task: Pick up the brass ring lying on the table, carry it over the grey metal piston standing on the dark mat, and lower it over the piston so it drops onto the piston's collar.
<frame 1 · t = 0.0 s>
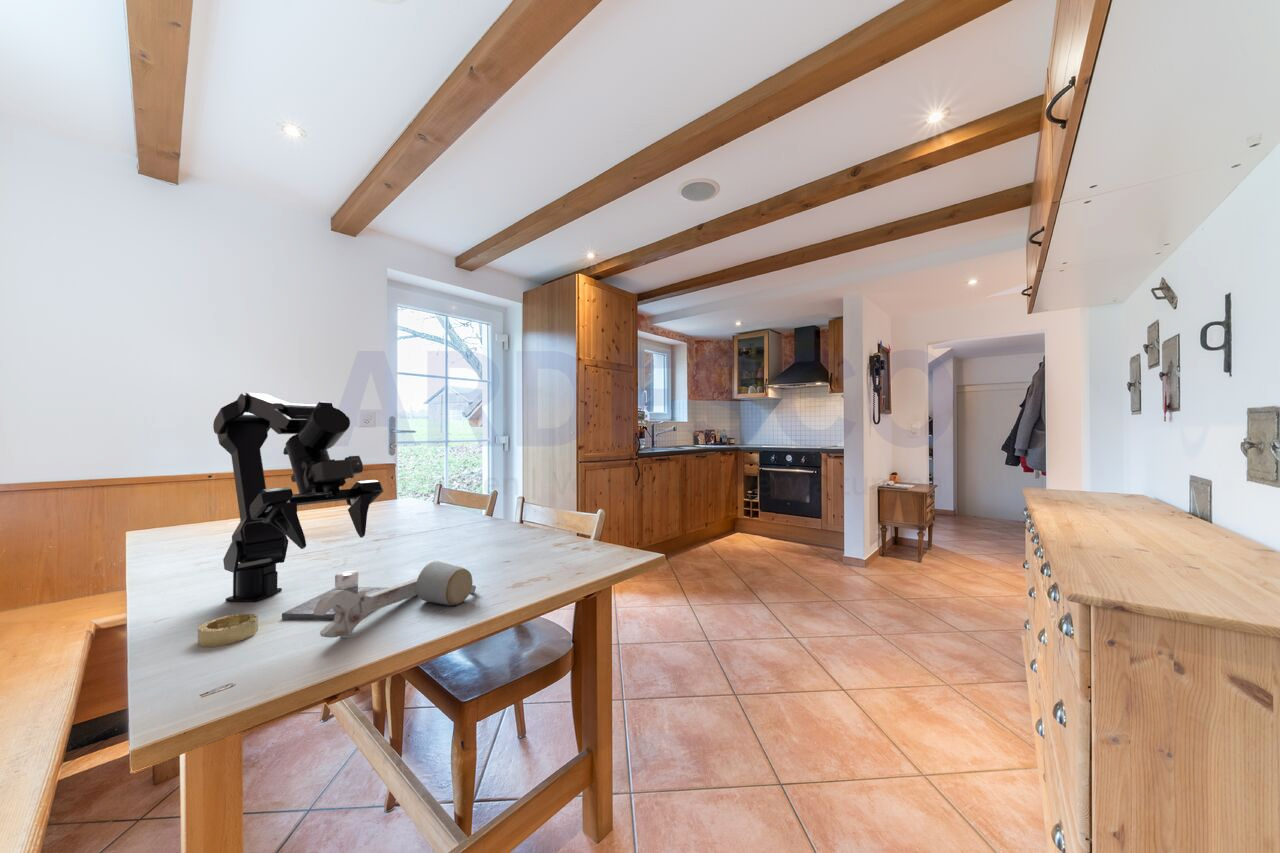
hand: (334, 541, 76), 15 cm above the table, tool tilted 35°, fingers open, 9 cm apart
piston stand: (346, 604, 87), on the table
ring: (228, 636, 73), on the table
wrench: (384, 615, 83), on the table
ceramic mug: (449, 601, 90), on the table
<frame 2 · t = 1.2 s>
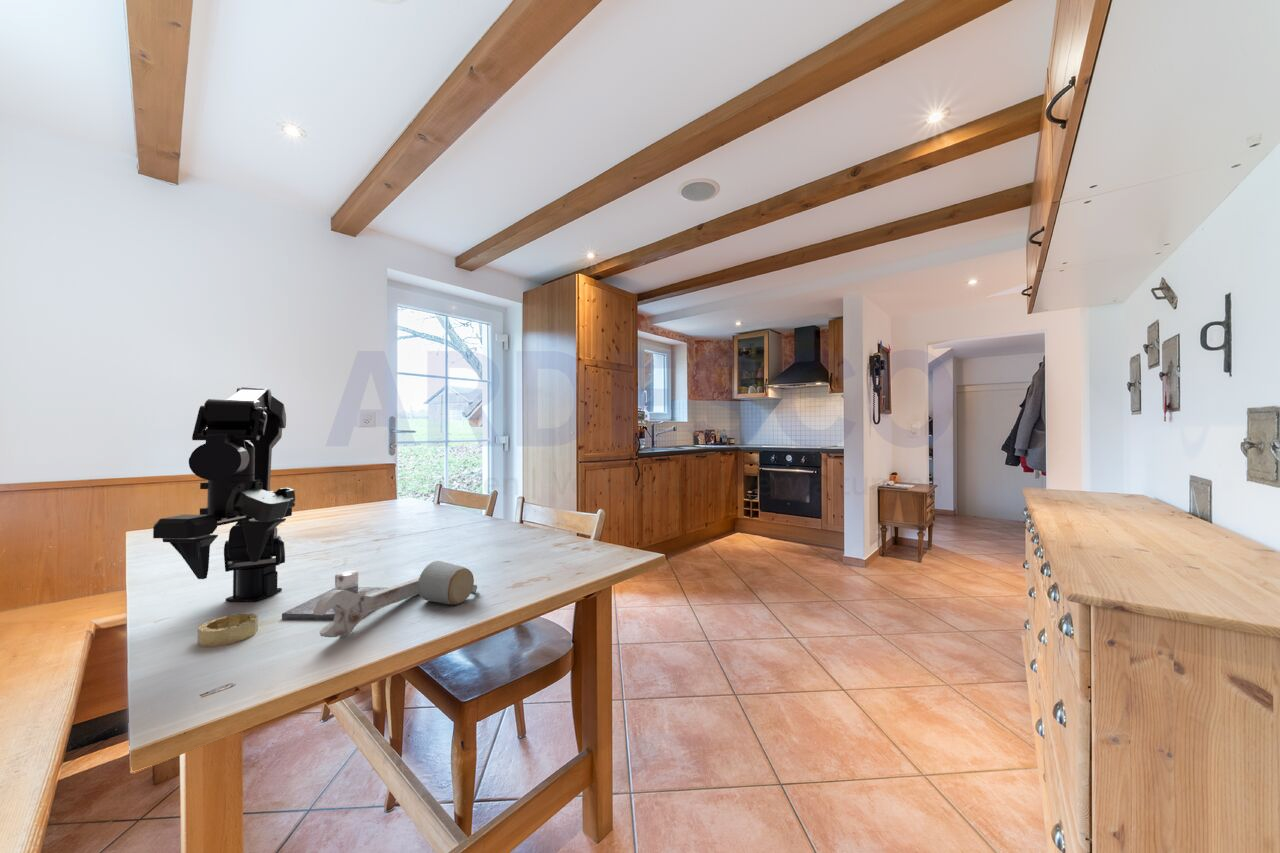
hand: (230, 569, 74), 11 cm above the table, tool pointing down, fingers open, 9 cm apart
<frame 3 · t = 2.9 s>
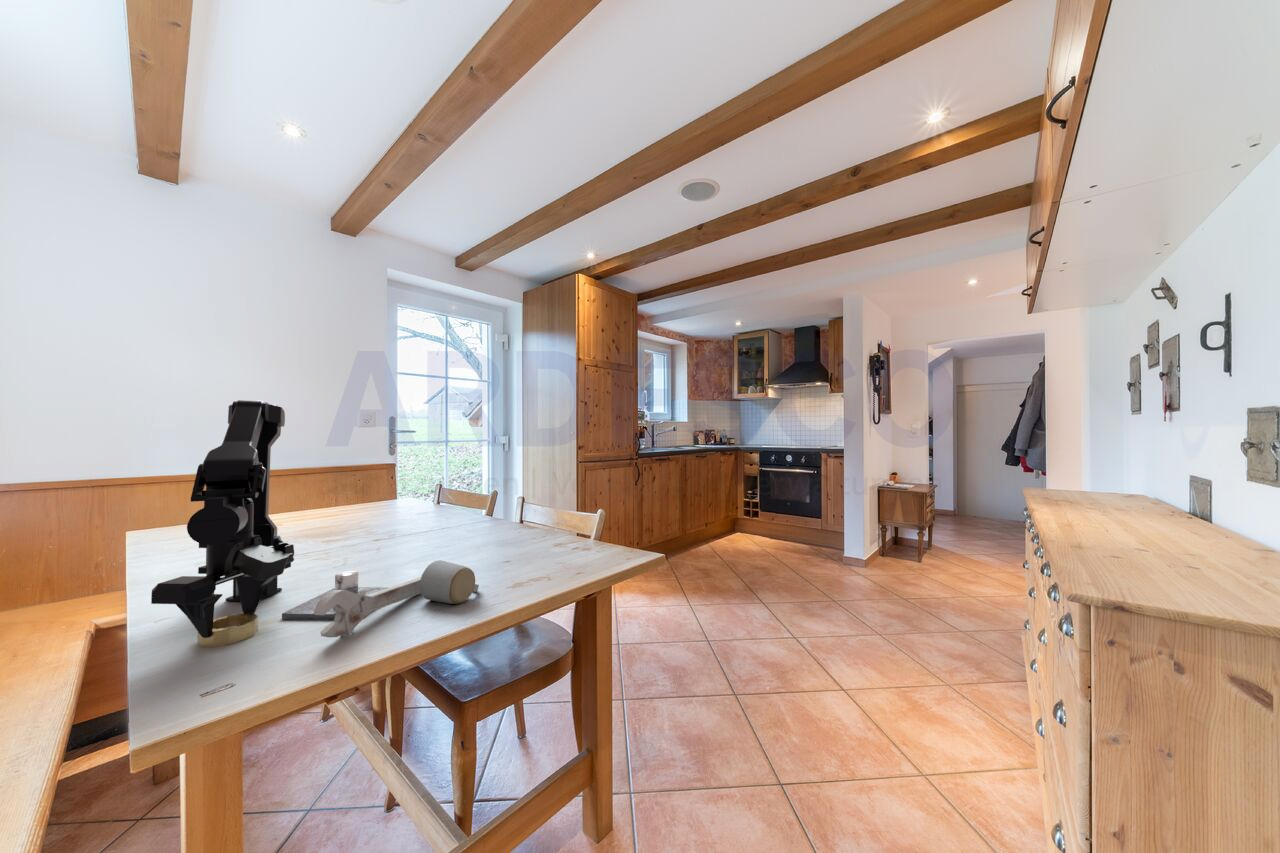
hand: (228, 627, 73), 2 cm above the table, tool pointing down, fingers closed on ring, 7 cm apart
ring: (228, 636, 73), on the table, touching gripper
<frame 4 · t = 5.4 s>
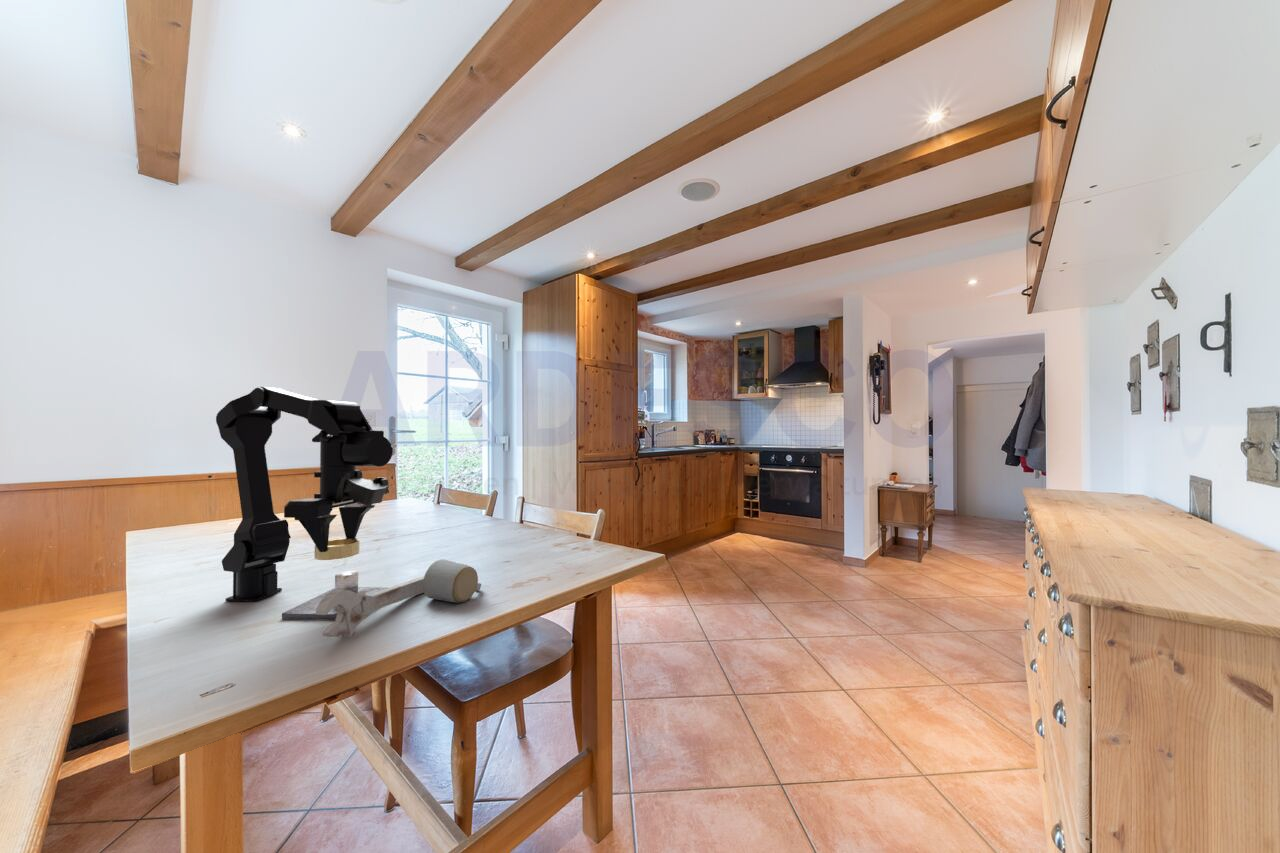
hand: (337, 546, 86), 12 cm above the table, tool pointing down, fingers closed on ring, 7 cm apart
ring: (337, 554, 86), point 10 cm above the table, touching gripper
when the fingers open (5 cm above the table, at t = 7.8 s): ring drops 1 cm, resting on piston stand.
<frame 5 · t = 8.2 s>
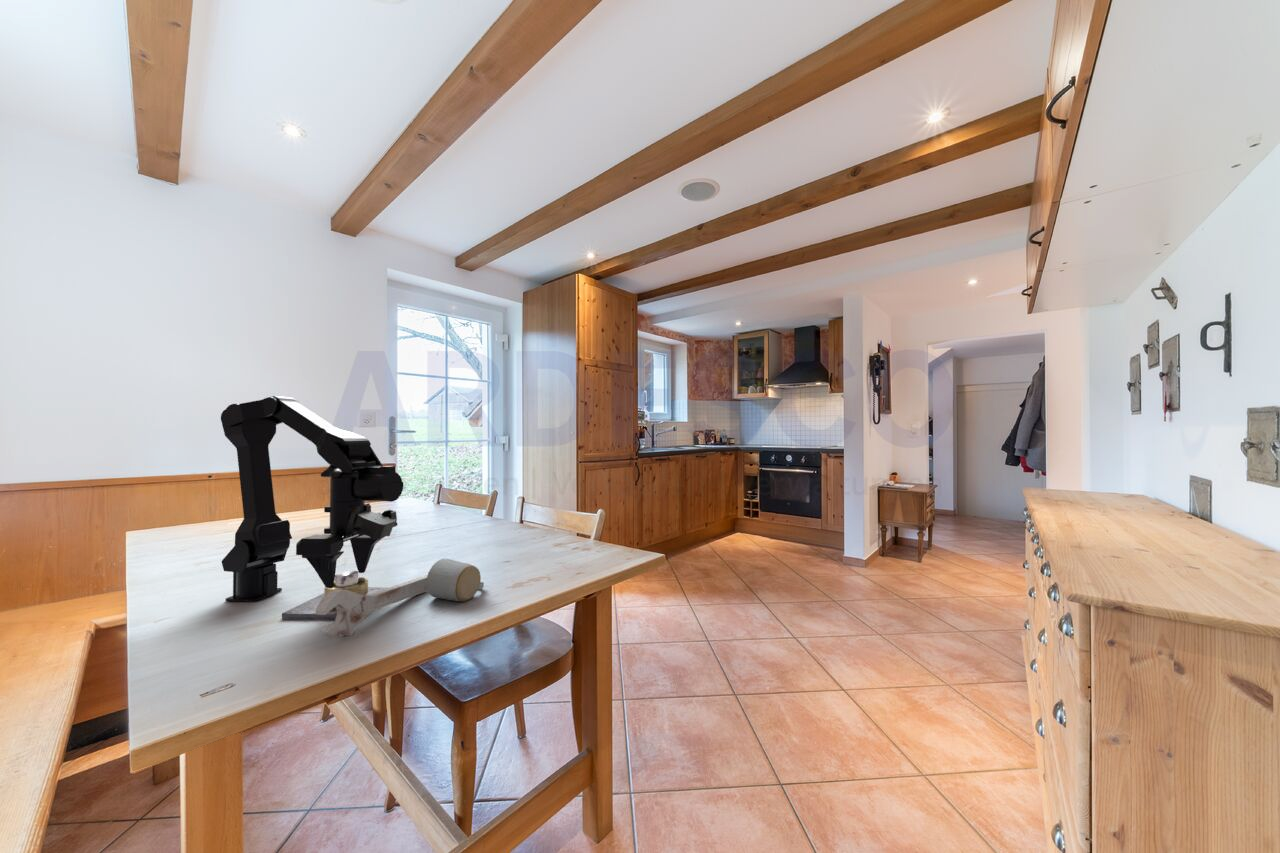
hand: (346, 579, 87), 5 cm above the table, tool pointing down, fingers open, 9 cm apart
ring: (346, 595, 87), point 2 cm above the table, touching piston stand
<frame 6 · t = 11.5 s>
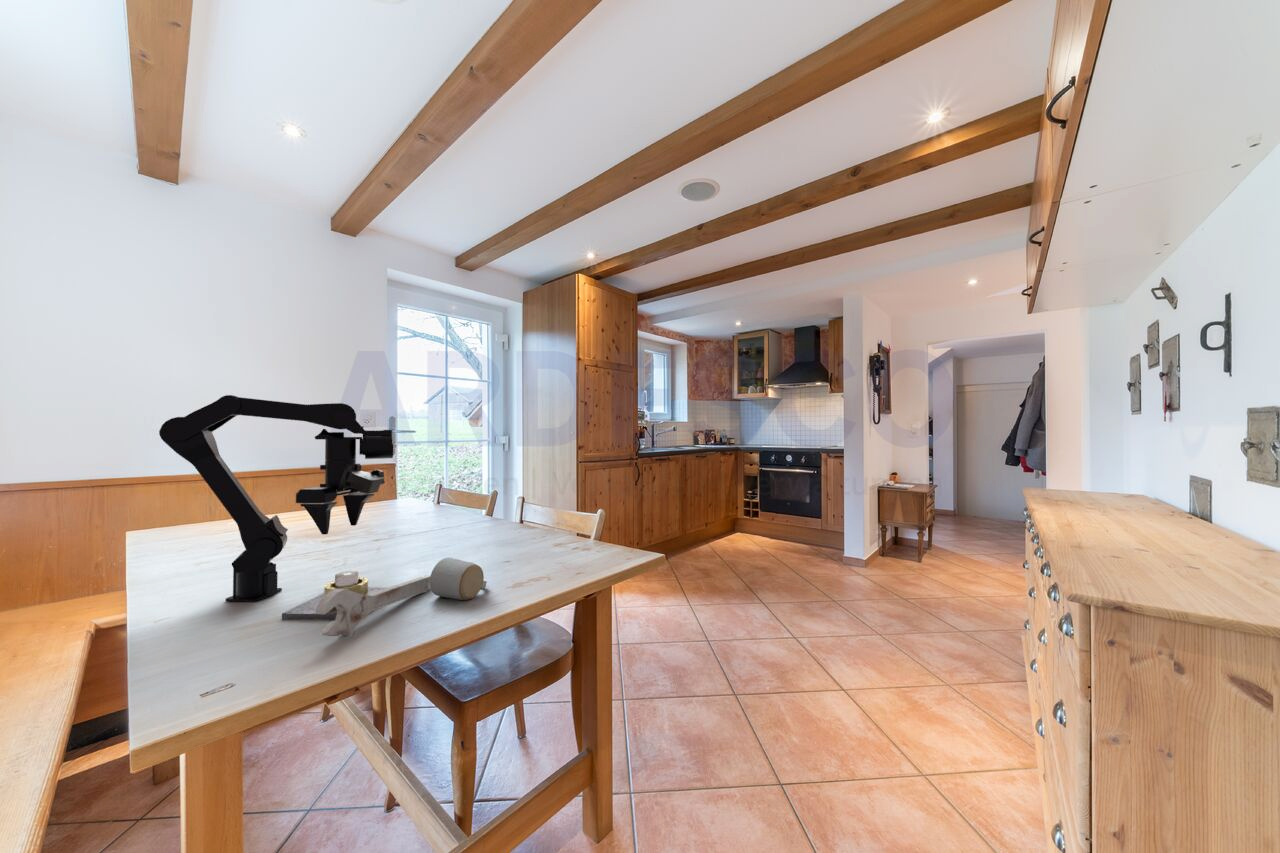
hand: (339, 529, 100), 12 cm above the table, tool pointing down, fingers open, 9 cm apart
at the end: ring 0.0 cm off-centre on the piston stand, point 1.8 cm above the piston stand's base; ring tilted 0°; the gripper is holding nothing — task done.
